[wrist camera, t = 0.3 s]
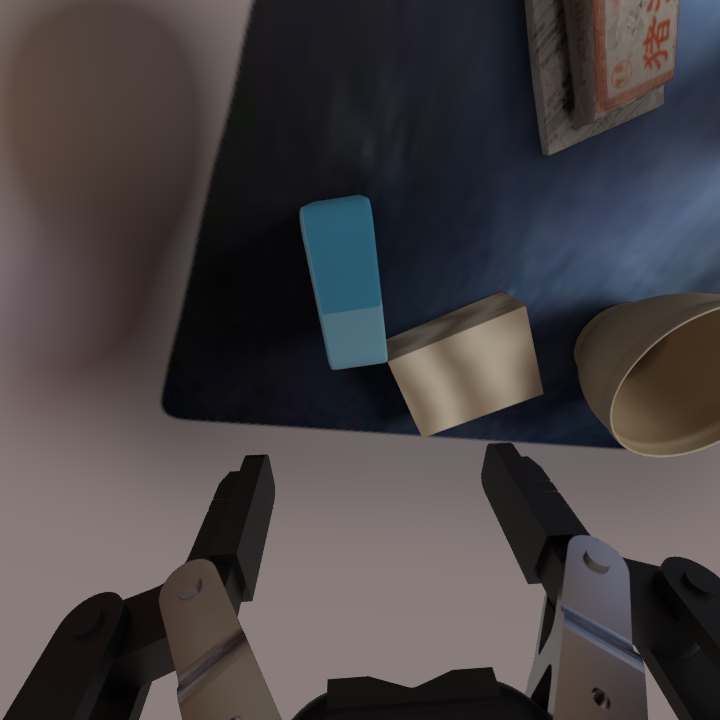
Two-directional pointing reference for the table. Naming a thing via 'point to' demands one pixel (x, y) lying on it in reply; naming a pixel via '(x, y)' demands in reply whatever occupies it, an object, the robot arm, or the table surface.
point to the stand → (466, 363)
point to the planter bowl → (655, 372)
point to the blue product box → (345, 279)
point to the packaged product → (597, 64)
